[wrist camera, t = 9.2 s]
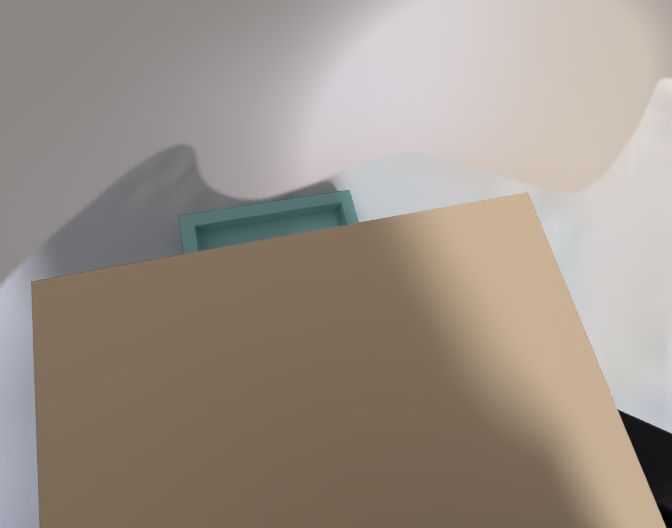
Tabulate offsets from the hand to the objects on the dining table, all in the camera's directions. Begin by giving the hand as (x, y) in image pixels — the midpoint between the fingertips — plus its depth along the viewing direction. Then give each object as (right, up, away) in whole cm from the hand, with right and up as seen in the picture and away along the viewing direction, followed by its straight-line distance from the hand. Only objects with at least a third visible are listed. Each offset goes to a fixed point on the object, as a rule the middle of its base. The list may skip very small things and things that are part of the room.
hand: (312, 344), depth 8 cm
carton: (-1, -3, +6) cm, 7 cm away
